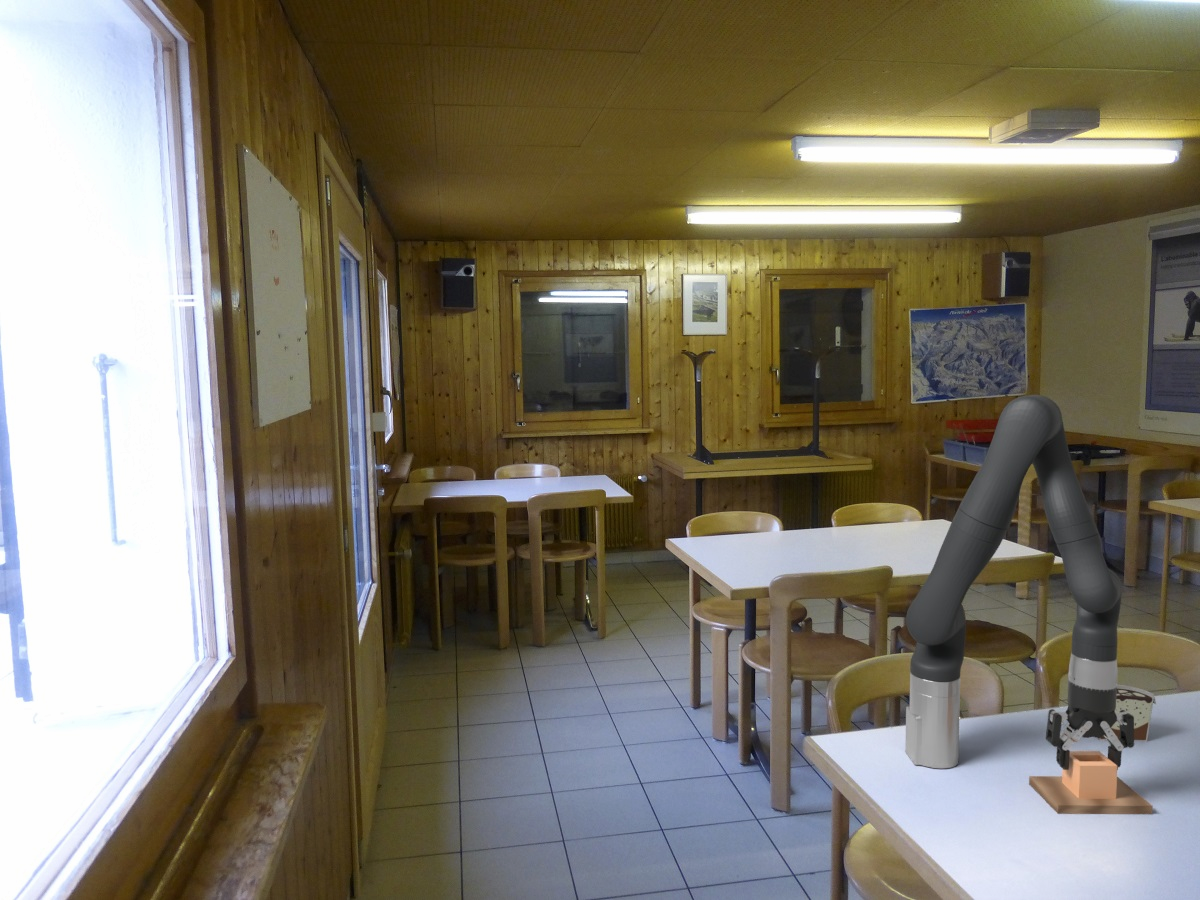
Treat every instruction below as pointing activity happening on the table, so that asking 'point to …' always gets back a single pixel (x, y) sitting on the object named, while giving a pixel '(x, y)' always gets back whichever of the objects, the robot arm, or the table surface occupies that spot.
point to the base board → (1071, 804)
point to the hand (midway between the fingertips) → (1088, 768)
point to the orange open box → (1090, 775)
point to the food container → (1134, 710)
